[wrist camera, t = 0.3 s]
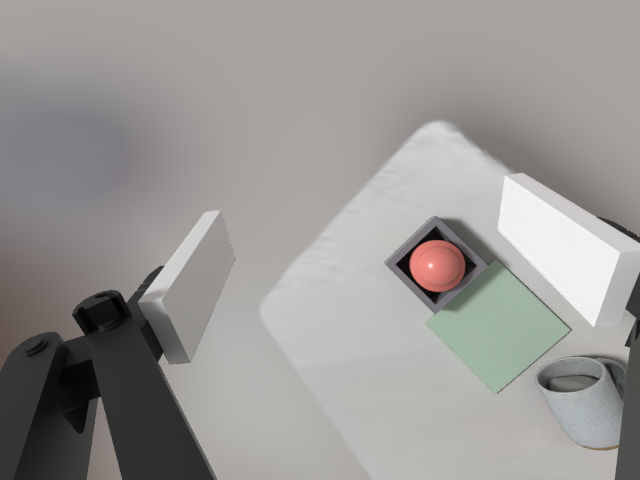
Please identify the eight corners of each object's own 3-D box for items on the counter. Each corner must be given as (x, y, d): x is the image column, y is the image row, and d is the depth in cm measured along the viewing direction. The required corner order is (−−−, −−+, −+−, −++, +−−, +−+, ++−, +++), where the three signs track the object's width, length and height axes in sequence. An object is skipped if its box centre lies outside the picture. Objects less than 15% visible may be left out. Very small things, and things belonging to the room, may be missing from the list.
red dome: (469, 264, 44) (482, 268, 39) (433, 298, 44) (441, 305, 39) (433, 230, 44) (441, 229, 39) (398, 263, 45) (402, 266, 40)
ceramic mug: (555, 429, 44) (594, 467, 37) (523, 373, 45) (555, 400, 37) (633, 395, 43) (690, 428, 35) (599, 338, 44) (648, 358, 36)
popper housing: (478, 263, 46) (488, 266, 42) (430, 308, 47) (435, 314, 43) (430, 217, 47) (436, 215, 43) (384, 262, 48) (385, 264, 44)
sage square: (568, 329, 44) (570, 330, 44) (494, 393, 45) (495, 394, 45) (495, 258, 45) (496, 259, 45) (424, 323, 47) (425, 323, 46)
